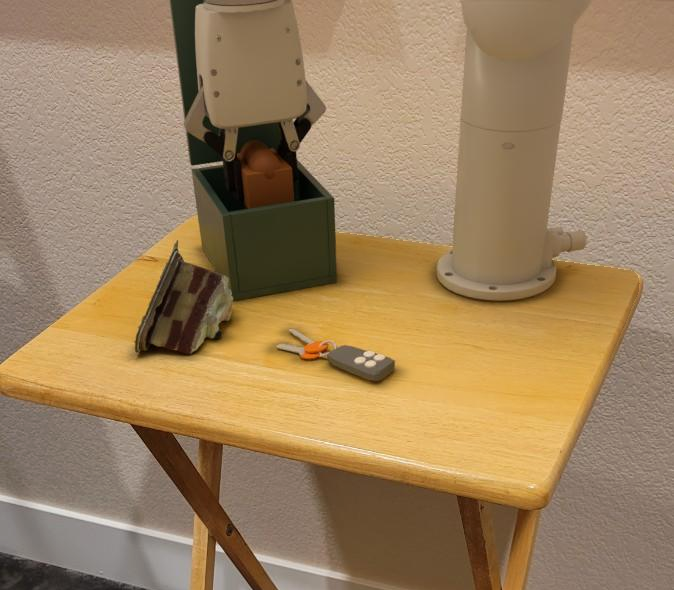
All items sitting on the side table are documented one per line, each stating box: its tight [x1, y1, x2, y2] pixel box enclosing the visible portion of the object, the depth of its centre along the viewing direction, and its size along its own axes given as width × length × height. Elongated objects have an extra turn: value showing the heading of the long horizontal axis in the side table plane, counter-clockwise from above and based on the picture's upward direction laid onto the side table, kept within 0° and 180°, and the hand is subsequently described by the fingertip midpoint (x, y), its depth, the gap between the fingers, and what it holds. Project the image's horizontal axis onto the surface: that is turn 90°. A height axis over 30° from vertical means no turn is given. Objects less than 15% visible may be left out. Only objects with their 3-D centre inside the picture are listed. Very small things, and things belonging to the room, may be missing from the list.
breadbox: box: [191, 159, 338, 302], centre depth 95 cm, size 15×12×9 cm
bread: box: [237, 140, 294, 209], centre depth 92 cm, size 5×7×5 cm, turn 19°
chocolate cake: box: [134, 239, 234, 355], centre depth 87 cm, size 10×7×12 cm
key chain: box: [276, 328, 396, 382], centre depth 82 cm, size 13×4×2 cm, turn 52°
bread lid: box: [169, 0, 281, 167], centre depth 93 cm, size 16×12×6 cm
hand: (262, 191), depth 93 cm, fingers closed on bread, 4 cm apart
